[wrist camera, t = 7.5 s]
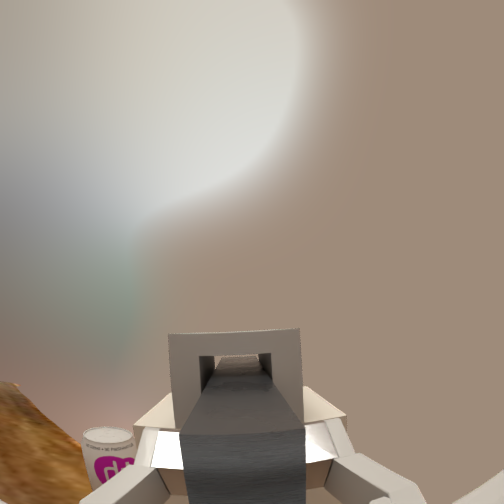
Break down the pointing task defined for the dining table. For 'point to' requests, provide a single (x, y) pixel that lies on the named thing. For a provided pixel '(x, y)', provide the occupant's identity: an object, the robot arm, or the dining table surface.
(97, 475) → the supplement can
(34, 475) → the dining table surface
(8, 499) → the dining table surface
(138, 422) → the stand
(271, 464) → the metal bar
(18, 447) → the dining table surface
